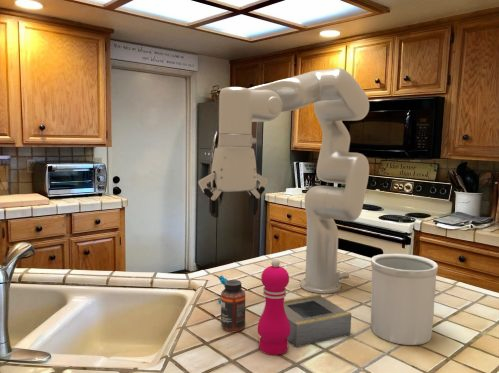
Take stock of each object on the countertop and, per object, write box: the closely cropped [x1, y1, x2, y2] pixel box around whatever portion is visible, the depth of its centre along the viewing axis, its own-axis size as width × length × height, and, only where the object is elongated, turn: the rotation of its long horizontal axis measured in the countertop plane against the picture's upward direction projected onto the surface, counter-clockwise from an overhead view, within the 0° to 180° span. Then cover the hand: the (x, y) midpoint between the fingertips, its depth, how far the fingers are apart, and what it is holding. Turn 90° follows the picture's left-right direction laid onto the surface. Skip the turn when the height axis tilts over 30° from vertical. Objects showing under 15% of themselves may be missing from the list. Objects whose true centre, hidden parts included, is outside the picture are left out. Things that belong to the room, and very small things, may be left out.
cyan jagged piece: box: [218, 275, 228, 304], centre depth 117 cm, size 11×6×10 cm
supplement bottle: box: [220, 279, 246, 333], centre depth 101 cm, size 6×6×11 cm
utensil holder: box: [370, 253, 439, 346], centre depth 99 cm, size 15×15×18 cm
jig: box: [284, 293, 352, 348], centre depth 101 cm, size 15×13×5 cm
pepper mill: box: [256, 258, 290, 356], centre depth 90 cm, size 7×7×20 cm
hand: (233, 215), depth 98 cm, fingers open, 9 cm apart
